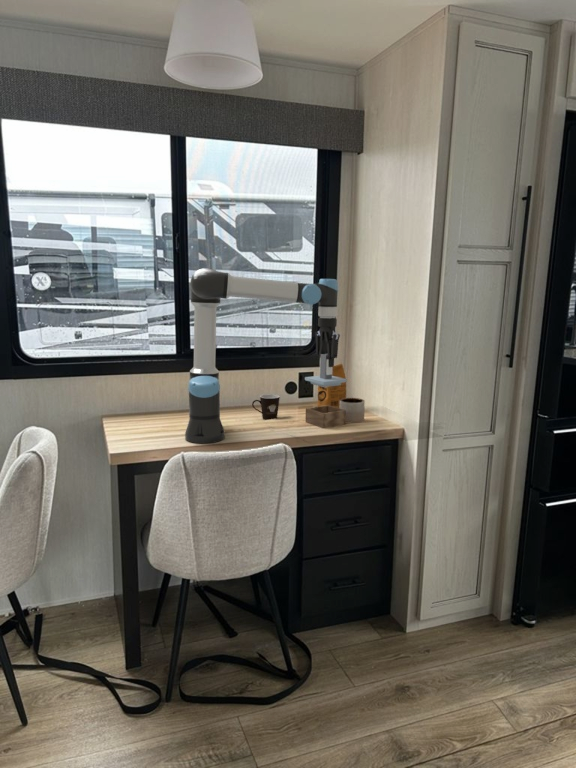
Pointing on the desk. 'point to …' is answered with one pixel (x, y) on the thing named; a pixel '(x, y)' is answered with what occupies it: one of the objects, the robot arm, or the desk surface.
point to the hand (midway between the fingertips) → (325, 373)
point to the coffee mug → (268, 406)
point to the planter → (353, 409)
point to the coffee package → (333, 390)
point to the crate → (325, 416)
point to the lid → (325, 376)
